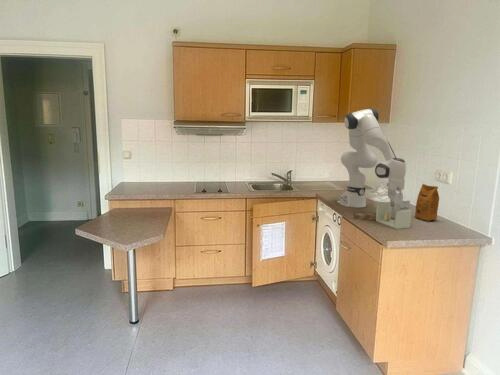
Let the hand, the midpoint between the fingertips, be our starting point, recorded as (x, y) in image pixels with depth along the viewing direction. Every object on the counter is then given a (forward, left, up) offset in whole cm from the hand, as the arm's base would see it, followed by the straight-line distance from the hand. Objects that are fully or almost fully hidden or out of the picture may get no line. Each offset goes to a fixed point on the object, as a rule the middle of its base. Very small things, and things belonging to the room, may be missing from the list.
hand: (394, 208), depth 213 cm
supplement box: (-9, +13, -10) cm, 19 cm away
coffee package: (-4, +30, -10) cm, 32 cm away
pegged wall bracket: (0, -1, -10) cm, 10 cm away
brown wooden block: (-14, -9, -10) cm, 19 cm away
